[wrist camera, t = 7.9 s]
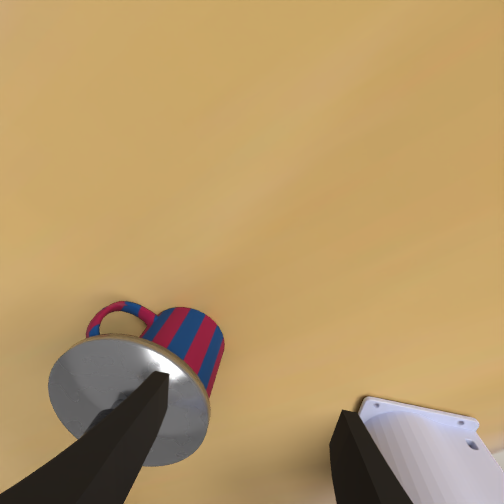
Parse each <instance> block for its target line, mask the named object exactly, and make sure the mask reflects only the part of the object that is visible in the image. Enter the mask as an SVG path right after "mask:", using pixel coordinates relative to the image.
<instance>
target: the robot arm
mask: <svg viewBox="0 0 504 504" xmlns="http://www.w3.org/2000/svg"><path fill="white" fill-rule="evenodd" d="M168 390H169V373H165V372H160V371H154V372H152V373H151V374H150V375H149V376H148V378H147V379H146V380H145V381H144V382H143V383H142V384H141V385H140V386H139V387H138V388H136V389H135V390H134V391H133V392H132V393H131V394H130V395H129V396H128V397H127V398H126V399H125V400H124V401H123V402H122V403H121V404H119V405H118V406H117V407H116V408H115V409H114V410H113V411H112V412H111V413H110V414H108V415H107V416H106V417H105V418H104V419H103V420H101V421H100V422H99V423H98V424H97V425H95V426H94V427H93V428H92V429H91V430H89V431H88V432H87V433H86V434H85V435H83V436H82V437H81V438H80V439H78V440H77V441H76V442H74V443H73V444H72V445H71V446H69V447H68V448H67V449H65V450H64V451H63V452H61V453H60V454H59V455H57V456H56V457H55V458H53V459H52V460H50V461H49V462H47V463H46V464H45V465H43V466H42V467H40V468H39V469H37V470H36V471H35V472H33V473H32V474H30V475H29V476H27V477H26V478H24V479H23V480H21V481H20V482H18V483H17V484H15V485H14V486H12V487H11V488H9V489H7V490H6V491H4V492H3V493H1V494H0V504H123V503H124V501H125V499H126V497H127V495H128V493H129V491H130V489H131V487H132V485H133V483H134V481H135V479H136V477H137V475H138V473H139V471H140V469H141V467H142V465H143V463H144V461H145V459H146V457H147V455H148V453H149V451H150V449H151V447H152V445H153V443H154V441H155V439H156V437H157V435H158V432H159V430H160V427H161V425H162V422H163V419H164V417H165V414H166V412H167V408H168ZM375 403H377V404H375ZM478 427H479V422H478V421H477V420H476V419H475V418H472V417H468V416H463V415H458V414H453V413H448V412H443V411H438V410H434V409H429V408H424V407H419V406H414V405H409V404H404V403H400V402H395V401H390V400H385V399H380V398H375V397H369V396H368V397H366V398H364V400H363V402H362V404H361V407H360V409H359V412H358V413H356V412H351V411H346V410H342V412H341V414H340V417H339V420H338V422H337V425H336V428H335V430H334V433H333V436H332V438H331V441H330V444H329V447H330V461H331V472H332V480H333V485H334V491H335V497H336V502H337V504H504V471H503V470H502V469H501V467H500V466H499V465H498V463H497V461H496V460H495V459H494V457H493V456H492V454H491V453H490V451H489V450H488V449H487V447H486V446H485V444H484V443H483V441H482V440H481V439H480V437H479V436H478V434H477V433H476V430H477V429H478Z"/></svg>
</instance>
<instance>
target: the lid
mask: <svg viewBox="0 0 504 504" xmlns="http://www.w3.org/2000/svg"><path fill="white" fill-rule="evenodd" d="M154 371H160V372H165V373H169V390H168V408H167V412H166V414H165V417H164V419H163V422H162V425H161V427H160V430H159V432H158V435H157V437H156V439H155V441H154V443H153V445H152V447H151V449H150V451H149V453H148V455H147V457H146V459H145V461H144V463H143V465H142V466H164V465H169V464H173V463H176V462H179V461H181V460H183V459H185V458H187V457H188V456H190V455H191V454H193V453H194V452H195V451H196V450H197V449H198V448H199V446H200V445H201V443H202V442H203V440H204V437H205V435H206V432H207V428H208V425H209V420H210V411H211V409H210V401H209V398H208V394H207V392H206V389H205V387H204V385H203V383H202V382H201V380H200V379H199V377H198V376H197V374H196V373H195V372H194V371H193V370H192V368H191V367H190V366H189V365H188V364H187V363H185V362H184V361H183V360H182V359H181V358H180V357H178V356H177V355H176V354H174V353H173V352H171V351H169V350H168V349H166V348H165V347H163V346H161V345H158V344H156V343H154V342H152V341H149V340H146V339H143V338H140V337H136V336H132V335H125V334H102V335H96V336H92V337H89V338H86V339H84V340H82V341H80V342H78V343H76V344H75V345H74V346H72V347H71V348H70V349H69V350H68V351H67V352H66V353H64V354H63V355H62V356H61V357H60V358H59V359H58V360H57V362H56V363H55V364H54V366H53V368H52V370H51V373H50V376H49V382H48V390H49V397H50V401H51V404H52V406H53V409H54V411H55V413H56V414H57V416H58V418H59V419H60V421H61V422H62V423H63V425H64V426H65V427H66V428H67V429H68V431H69V432H70V433H71V434H73V435H74V436H75V437H76V438H77V439H80V438H81V437H82V436H83V435H85V434H86V433H87V432H88V431H89V430H91V429H92V428H93V427H94V426H95V425H97V424H98V423H99V422H100V421H101V420H103V419H104V418H105V417H106V416H107V415H108V414H110V413H111V412H112V411H113V410H114V409H115V408H116V407H117V406H118V405H119V404H121V403H122V402H123V401H124V400H125V399H126V398H127V397H128V396H129V395H130V394H131V393H132V392H133V391H134V390H135V389H136V388H138V387H139V386H140V385H141V384H142V383H143V382H144V381H145V380H146V379H147V378H148V376H149V375H150V374H151V373H152V372H154Z"/></svg>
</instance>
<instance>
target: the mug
mask: <svg viewBox="0 0 504 504" xmlns="http://www.w3.org/2000/svg"><path fill="white" fill-rule="evenodd" d="M114 311H124V312H128V313H130V314H133V315H135V316H137V317H139V318H140V319H141V320H143V321H144V322H145V323H146V325H147V327H146V329H145V330H144V332H143V333H142V334H141V336H140V338H143V339H146V340H149V341H152V342H154V343H156V344H158V345H161V346H163V347H165V348H166V349H168V350H169V351H171V352H173V353H174V354H176V355H177V356H178V357H180V358H181V359H182V360H183V361H184V362H185V363H187V364H188V365H189V366H190V367H191V368H192V370H193V371H194V372H195V373H196V374H197V376H198V377H199V379H200V380H201V382H202V383H203V385H204V387H205V389H206V392H207V394H208V398H210V394H211V391H212V388H213V384H214V381H215V378H216V375H217V371H218V368H219V365H220V361H221V358H222V355H223V352H224V345H225V344H224V338H223V335H222V332H221V330H220V328H219V327H218V326H217V324H216V323H215V322H214V321H213V320H212V319H211V318H210V317H208V316H207V315H205V314H204V313H202V312H200V311H198V310H194V309H191V308H185V307H176V308H170V309H168V310H165V311H163V312H161V313H160V314H159V315H158V316H157V315H156V314H155V313H153V312H152V311H150V310H148V309H147V308H145V307H143V306H141V305H139V304H136V303H133V302H128V301H119V302H116V303H113V304H111V305H109V306H107V307H105V308H103V309H102V310H101V311H99V312H98V313H97V314H96V315H95V317H94V318H93V319H92V320H91V322H90V323H89V325H88V327H87V331H86V338H89V337H92V336H96V335H100V331H99V327H100V324H101V321H102V319H103V318H104V317H105V316H106V315H107V314H109V313H111V312H114Z"/></svg>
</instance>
